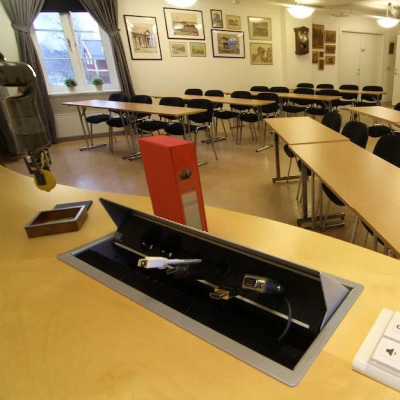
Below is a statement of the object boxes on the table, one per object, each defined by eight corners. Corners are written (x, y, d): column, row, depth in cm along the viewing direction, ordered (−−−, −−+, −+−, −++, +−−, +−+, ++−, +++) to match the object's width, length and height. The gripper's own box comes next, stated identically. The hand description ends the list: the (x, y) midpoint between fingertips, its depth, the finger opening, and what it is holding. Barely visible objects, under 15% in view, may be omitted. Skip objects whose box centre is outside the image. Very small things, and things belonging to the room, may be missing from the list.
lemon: (33, 194, 105) (25, 170, 102) (50, 188, 110) (43, 166, 107) (46, 195, 104) (39, 172, 101) (63, 190, 109) (56, 167, 106)
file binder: (186, 251, 96) (168, 146, 84) (157, 234, 106) (137, 138, 94) (209, 241, 102) (195, 141, 90) (180, 226, 112) (163, 134, 100)
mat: (49, 216, 118) (48, 214, 118) (57, 206, 127) (56, 204, 126) (87, 211, 123) (86, 209, 122) (92, 202, 131) (92, 200, 131)
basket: (27, 238, 103) (23, 227, 102) (42, 220, 115) (39, 211, 114) (79, 230, 108) (76, 220, 107) (88, 214, 120) (85, 205, 119)
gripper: (23, 127, 104) (39, 177, 111) (3, 135, 92) (22, 190, 98) (51, 126, 107) (65, 175, 113) (36, 134, 95) (52, 187, 101)
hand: (45, 182), depth 106 cm, fingers closed on lemon, 5 cm apart
